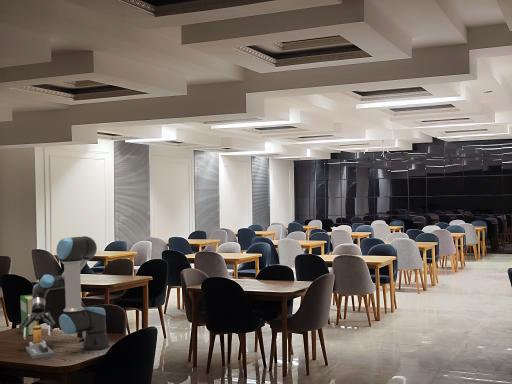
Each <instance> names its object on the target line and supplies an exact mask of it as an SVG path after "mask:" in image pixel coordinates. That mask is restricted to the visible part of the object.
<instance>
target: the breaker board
mask: <svg viewBox="0 0 512 384" xmlns="http://www.w3.org/2000/svg"><path fill="white" fill-rule="evenodd" d="M28 343H29V346H25V351H26V352H27V353H28V355H29V356H30V357H31V358H32V359H33V360H38V359H43V358H49V357H55V352H54V351H53V350H52V349H51V347H49V346H48V345H47V342H46V341H45V340H43V339H42V343H37V344H34V341H29V342H28Z"/></svg>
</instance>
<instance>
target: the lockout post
mask: <svg viewBox="0 0 512 384" xmlns="http://www.w3.org/2000/svg"><path fill="white" fill-rule="evenodd" d="M32 336H33V342H34V344H37V343H42V340H43V339H42V325H41V324H39V325H36V326H33V334H32Z"/></svg>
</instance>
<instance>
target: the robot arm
mask: <svg viewBox="0 0 512 384" xmlns="http://www.w3.org/2000/svg"><path fill="white" fill-rule="evenodd" d="M95 241H96V240H94V239H93V238H92V237H90V236H86V235H85V236H74V237H73V236H72V237H69V236H68V237H64V238H61V239H60V240H59V241H58V243H57V245H56V251H55V252H56V255H57V258H58V259H60V262H61V263H62V264H63V267H64V270H63V272H62V273H61V274H60V275H57V276H53V275H51V274H48V273H47V274H44V275H43V276H42V277H41V278H40V280H39V281H38V283H36V284H34V286H33V288H32V295H33V298H32V313H31V314H28V313H26V316H25V318H24V319H23V321H22V322H21V321H20V324H19V325H18V327H19V328H18V329H19V330H21V334H22V335H23V339H24V340H26V337H27V336H26V328H27V327H28V326H29V325H30V324H31V323H32V322H34V321H39V322H40V321H42V322H44V323H45V324H46V325H48V338H51V332H53V328H54V327H56V326H57V325H56V322H55V320H54V318H53V317H52V315H51V312H50V311H48V312H46V296H47V295H48V293H49V291H52V290H58V289H64V292H65V293H64V296H65V308H63V310H62V312H63V313H62V314H60V316H59V318H58V323H59V327H60V329H61V331H62V332H63V334H66V335H75V334H77V333H79V332H84V331H86V335H85V338H83V339H84V340H83V343H82V349H83V350H87V351H97V350H105V349H108V348H109V347H110V345H111V342H110V340H109V337H108V334H107V324H106V323H107V321H106V320H107V319H106V316H107V314H106V309H105V308H104V307H98V306H87V307H83V306H82V288H81V287H82V286H81V285H82V284H81V271H82V269H83V268H84V267H85V265H86V264H87V263H88V261H90V260H92V259H94V257H95V255H96V254H97V249H98V247H97V243H96V242H95ZM29 317H31V318H30V319H29V320H28V318H29ZM47 318H48V319H47ZM27 320H28V321H27ZM26 321H27V322H26Z"/></svg>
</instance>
